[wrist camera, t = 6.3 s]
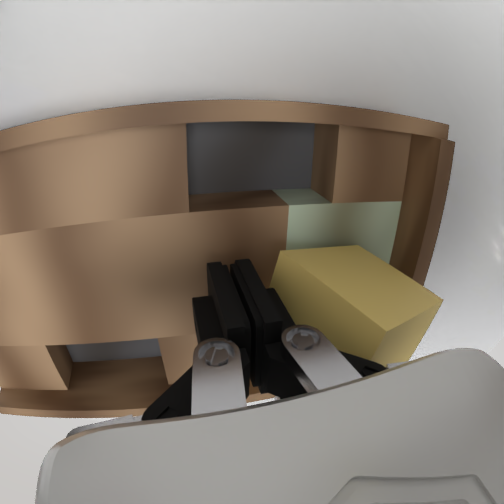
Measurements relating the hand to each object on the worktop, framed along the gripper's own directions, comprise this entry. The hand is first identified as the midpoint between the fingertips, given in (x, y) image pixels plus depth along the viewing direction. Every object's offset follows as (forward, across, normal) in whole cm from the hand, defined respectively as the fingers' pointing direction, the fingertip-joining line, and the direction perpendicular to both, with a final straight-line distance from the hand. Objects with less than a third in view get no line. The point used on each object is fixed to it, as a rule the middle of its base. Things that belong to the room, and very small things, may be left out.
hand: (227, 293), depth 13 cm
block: (0, -4, +1) cm, 4 cm away
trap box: (+4, +2, 0) cm, 4 cm away
